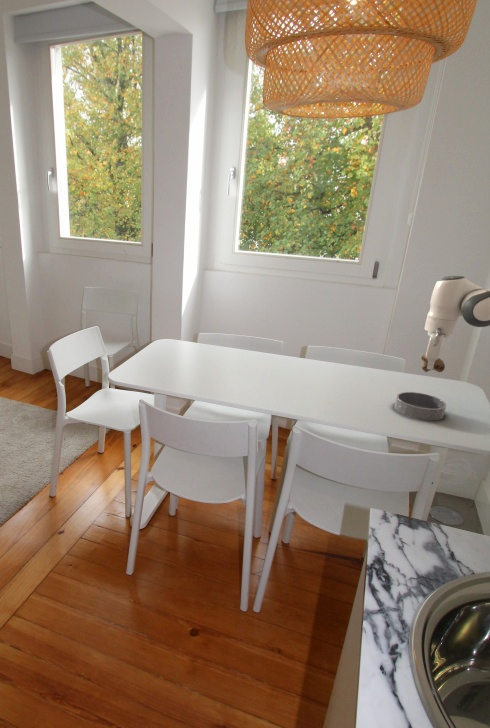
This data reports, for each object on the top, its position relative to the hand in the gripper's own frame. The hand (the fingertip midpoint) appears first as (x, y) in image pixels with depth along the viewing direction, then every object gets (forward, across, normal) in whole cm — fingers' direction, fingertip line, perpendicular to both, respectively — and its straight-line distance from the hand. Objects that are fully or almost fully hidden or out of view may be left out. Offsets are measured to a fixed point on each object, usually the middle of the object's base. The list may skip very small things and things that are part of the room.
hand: (431, 365), depth 160 cm
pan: (+17, -1, +1) cm, 17 cm away
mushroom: (+2, 0, 0) cm, 2 cm away
